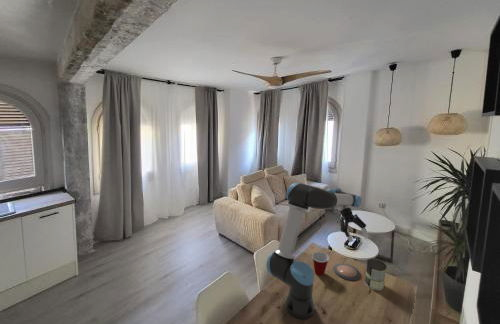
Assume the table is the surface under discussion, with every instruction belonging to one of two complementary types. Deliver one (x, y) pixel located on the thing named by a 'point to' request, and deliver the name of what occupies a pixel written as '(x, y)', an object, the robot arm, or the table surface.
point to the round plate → (346, 271)
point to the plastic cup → (320, 262)
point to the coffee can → (375, 274)
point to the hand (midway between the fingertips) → (359, 239)
